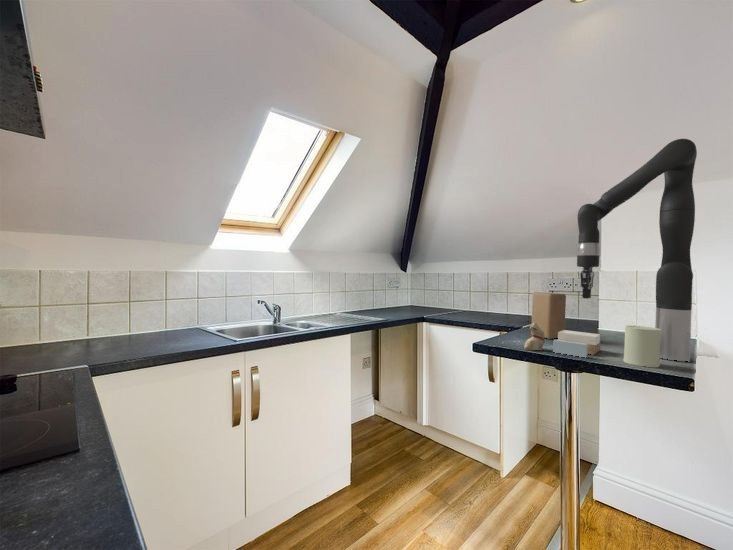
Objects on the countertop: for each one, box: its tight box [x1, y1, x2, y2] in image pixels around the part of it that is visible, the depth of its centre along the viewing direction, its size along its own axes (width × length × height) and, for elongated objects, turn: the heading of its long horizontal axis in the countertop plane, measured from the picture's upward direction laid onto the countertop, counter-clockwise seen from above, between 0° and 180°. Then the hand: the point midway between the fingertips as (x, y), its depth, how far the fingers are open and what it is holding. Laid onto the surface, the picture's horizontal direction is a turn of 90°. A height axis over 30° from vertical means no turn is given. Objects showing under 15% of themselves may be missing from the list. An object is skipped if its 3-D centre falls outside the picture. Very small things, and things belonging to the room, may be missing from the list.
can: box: [622, 325, 661, 368], centre depth 111 cm, size 9×9×12 cm
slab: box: [557, 329, 601, 345], centre depth 129 cm, size 12×9×3 cm
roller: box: [587, 345, 596, 356], centre depth 125 cm, size 12×3×3 cm, turn 48°
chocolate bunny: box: [523, 323, 545, 351], centre depth 127 cm, size 6×8×10 cm
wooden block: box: [530, 291, 567, 340], centre depth 156 cm, size 10×10×20 cm
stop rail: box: [552, 339, 588, 359], centre depth 119 cm, size 10×2×4 cm, turn 48°
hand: (586, 298), depth 138 cm, fingers open, 2 cm apart
